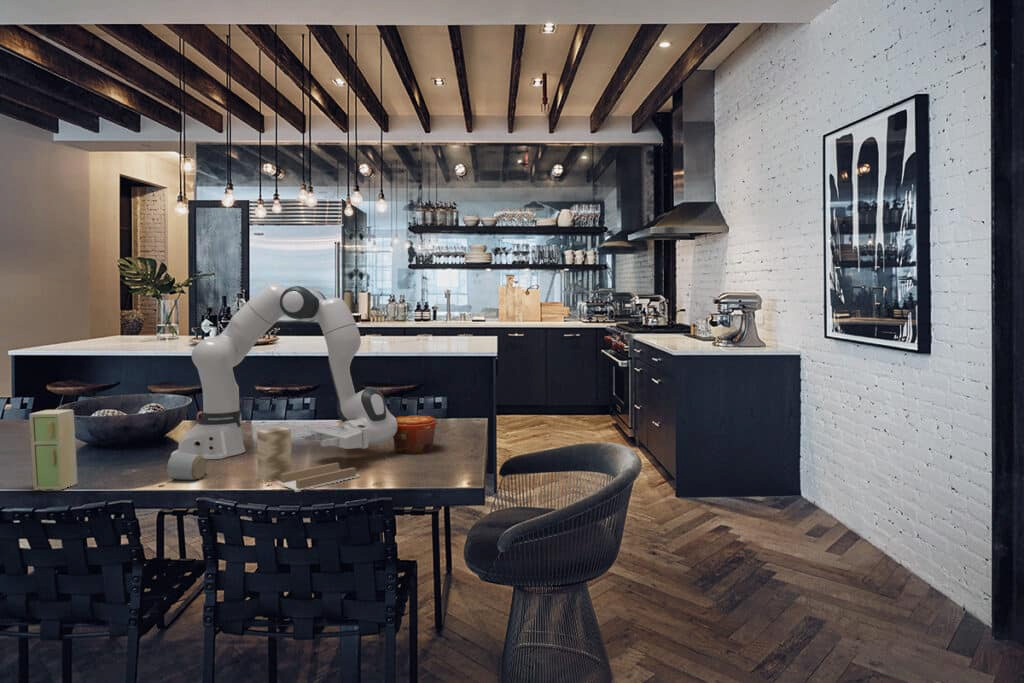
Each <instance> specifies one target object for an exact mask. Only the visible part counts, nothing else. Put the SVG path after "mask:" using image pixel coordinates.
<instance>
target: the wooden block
mask: <svg viewBox="0 0 1024 683" xmlns="http://www.w3.org/2000/svg"><path fill="white" fill-rule="evenodd" d="M256 442H257V443H256V445H257V446H256V448H257V450H256V451H257V479H258V478H259V479H262V480H264V481H268V480H274V479H278V480H280V479H279V478H280V474H283V473H288V472H293V469H292V468H293V467H292V429H291V428H288V427H284V426H280V427H275V428H268V429H260V430H257V431H256ZM259 479H258V480H259ZM264 481H263V482H264ZM274 481H275V480H274Z"/></svg>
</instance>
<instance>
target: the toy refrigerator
mask: <svg viewBox="0 0 1024 683" xmlns="http://www.w3.org/2000/svg"><path fill="white" fill-rule="evenodd" d="M28 419H29V435H30V437H29V438H30V449H31V450H30V452H31V453H30V454H31V468H32V470H31V472H32V486H33V487H32V488H33V490H34V489H53V490H52V491H63V490H62V489H64V490H66V489H68V488H67V487H69V488H71V487H74V486H75V485H77V484H78V468H77V467H78V464H77V448H76V447H77V446H76V431H75V430H76V428H75V411H74V409H44V410H40V411H36V412H31V413H29V414H28ZM70 486H71V487H70ZM65 488H66V489H65Z"/></svg>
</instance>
